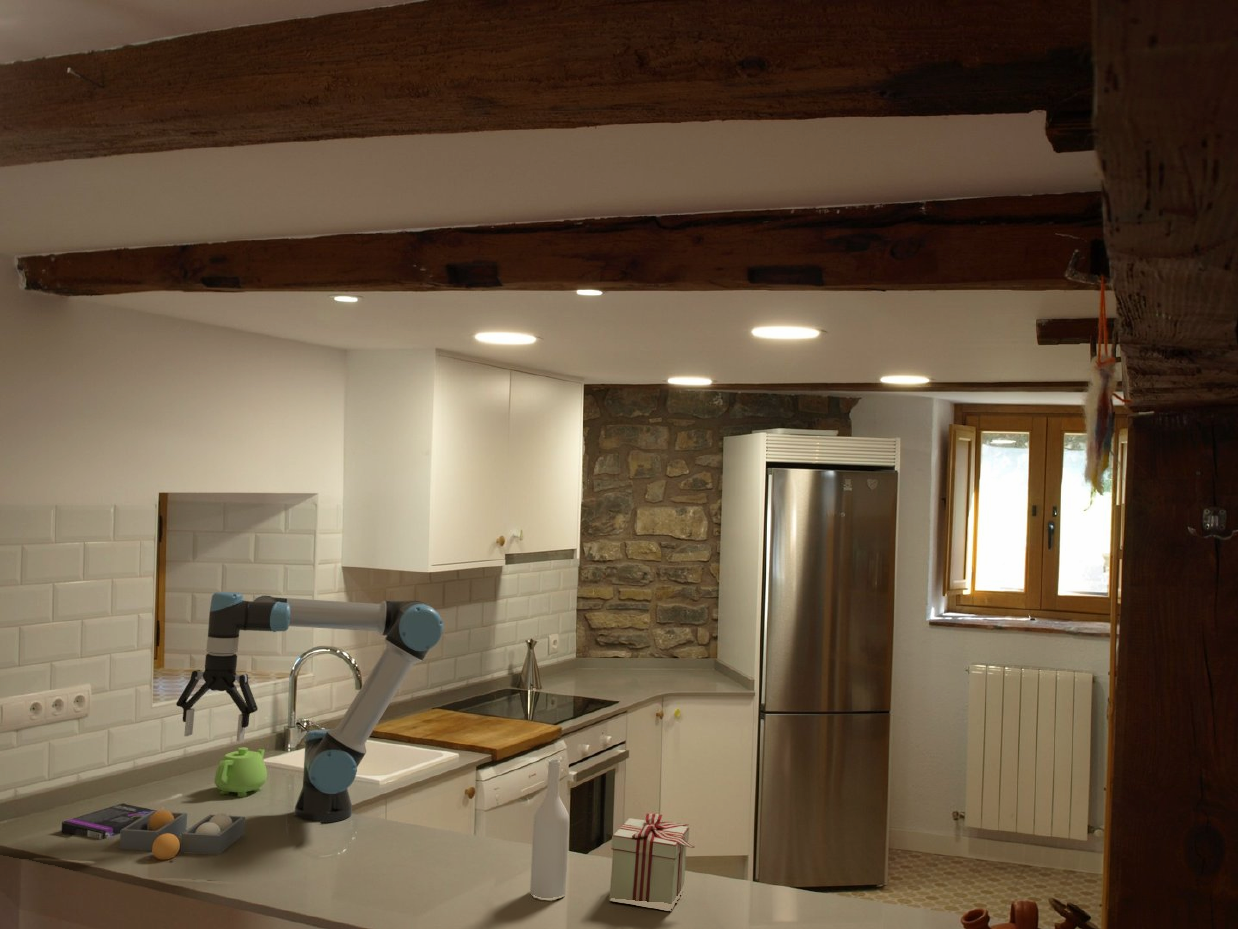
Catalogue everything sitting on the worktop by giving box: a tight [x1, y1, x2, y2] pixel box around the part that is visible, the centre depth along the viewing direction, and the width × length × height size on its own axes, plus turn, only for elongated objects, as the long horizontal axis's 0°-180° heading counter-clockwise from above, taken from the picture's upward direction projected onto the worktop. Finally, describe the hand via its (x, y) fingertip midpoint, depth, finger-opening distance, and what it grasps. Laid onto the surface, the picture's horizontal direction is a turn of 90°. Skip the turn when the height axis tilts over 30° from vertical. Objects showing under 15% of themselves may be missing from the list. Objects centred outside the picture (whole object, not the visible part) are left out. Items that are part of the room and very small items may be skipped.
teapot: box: [214, 746, 268, 798], centre depth 304 cm, size 20×13×13 cm
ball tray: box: [119, 810, 246, 863], centre depth 255 cm, size 26×22×5 cm
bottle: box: [529, 758, 570, 898], centre depth 237 cm, size 8×8×30 cm
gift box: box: [609, 813, 696, 904], centre depth 238 cm, size 17×18×17 cm
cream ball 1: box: [195, 822, 221, 835], centre depth 254 cm, size 6×6×6 cm
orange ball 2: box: [151, 833, 181, 861], centre depth 247 cm, size 6×6×6 cm
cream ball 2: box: [209, 813, 233, 832], centre depth 261 cm, size 6×6×6 cm
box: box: [60, 802, 157, 840], centre depth 268 cm, size 14×4×20 cm
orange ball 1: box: [148, 809, 174, 831], centre depth 262 cm, size 6×6×6 cm
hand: (214, 738), depth 264 cm, fingers open, 13 cm apart
